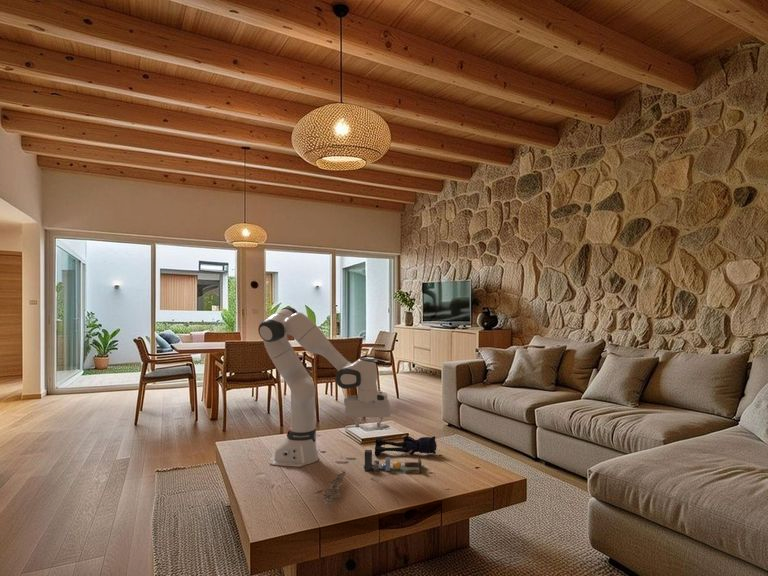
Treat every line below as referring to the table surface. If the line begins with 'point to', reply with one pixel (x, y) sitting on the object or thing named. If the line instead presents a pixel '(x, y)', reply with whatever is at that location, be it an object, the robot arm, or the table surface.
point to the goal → (412, 464)
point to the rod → (369, 466)
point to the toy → (408, 445)
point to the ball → (397, 465)
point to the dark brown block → (376, 466)
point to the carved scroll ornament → (334, 488)
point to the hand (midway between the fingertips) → (368, 426)
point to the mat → (402, 469)
